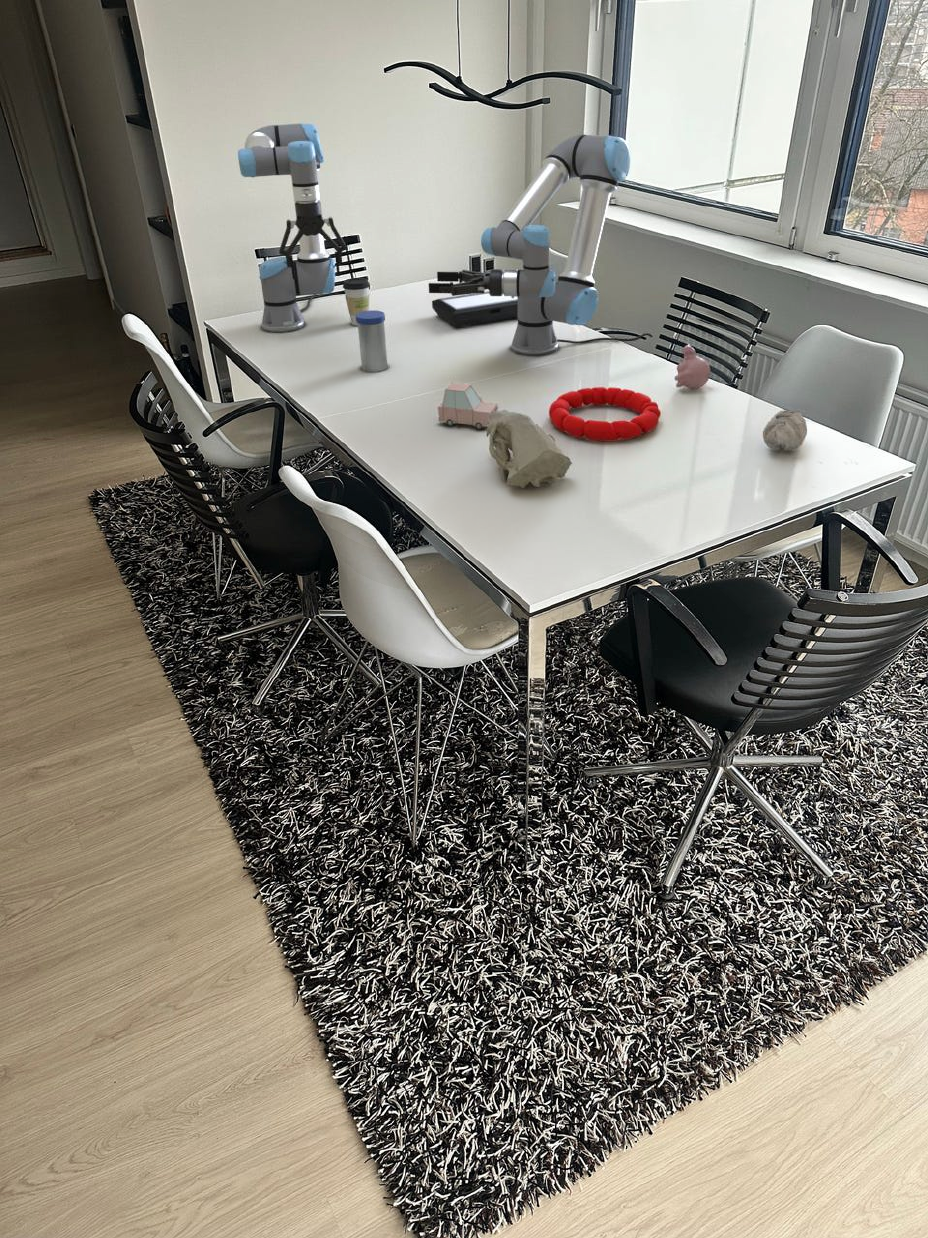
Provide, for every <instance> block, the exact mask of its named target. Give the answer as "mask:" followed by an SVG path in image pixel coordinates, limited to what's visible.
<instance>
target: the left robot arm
mask: <svg viewBox="0 0 928 1238" xmlns="http://www.w3.org/2000/svg"><path fill="white" fill-rule="evenodd" d="M237 158H238V159H237V160H238V165H239V172H240V176H242V177H243V178H257V177H273V176H290V177H291V186H292V193H293V194H292V195H293V202H294V209H295V218H296V219H295V220H291V219H286V228H285V231H284V234H283V237H282V241H281V244H280V247H279V250H278V253H279V255H280V256H277V257H273V258H270V259H267V260H264V261H263V262H261V263H260V265H259V266H258V270H259V280H260V285H261V286H260V287H261V292H262V299H263V313H262V319H261V326H262V330H264V331H265V332H271V333H286V332H293V331H296V330H297V331H298V330H300V329H302V328H304V326H305V318H304V317H303V314H302V313H303V312H304V311H306V310H308V308H309V307H310V305H311V301H312V300H313V299H314V298H315V297H317V295H321V296H322V295H327V294H332V293H333V292H334V290H335V286H336V285H335V284H336V276H337V277H341V271H340V265H342V264H343V256H342V255H343V254H342V253H343V252H344V251H347V249H348V247H347V244H346V242H345V241H344V239H343V238H342V236H341V234H340V232H339V231H338V229H337V228H336V226H335V223H334V219H333V217H332V216H328V217H327V218H323V213H322V203H321V201H320V199H321V195H320V194H321V193H320V185H319V179H318V178H319V177H318V173H319V172H320V170H321V164H323V163H324V162H325V159H324V155H323V150H322V145H321V141H320V137H319V133H318V129H317V127H316V125H315V124H313V123H290V124H288V123H287V124H275V125H274V124H271V125H266V126H263V127H260V128H258V129H256V130H253V131H252V132H251V133H250V134H248V136H247V137H246V139H245V142H244V148H239V149H238V150H237ZM325 224H326V225H327V227H330V229H331V231H332V233H333V234H334V236H335V238H336V240H337V242H338V244H339V245H340V246H339V245H338V244H337V242H335V240H333V238H331V237H330V235H329V234H328V233H327V232H326V231H325V230H324V229H323V227H324V225H325ZM295 226H296V228H297V233H296V235H295V236H294V238H293V239H292V240H291V243H290V244H289V246H288V247H287V249H286V246H287V243H288V241H289V238H290V235H291V230H293V229H294V227H295ZM325 241H326V242H327V243H328V244H329V245H330V246H331V247H332V248H333V249H334V250H335V251H334V258H332V257H331V253H330V252H329V251H328V250H327V249H326V247H325ZM298 243H299V250H300V251H298V253H297V254H296V260H294V258H293V254H292V252H294V250H295V248H296V246H297V245H298ZM285 249H286V250H285ZM300 296H301V297H302V296H303V297H304V296H311V297H310V298H309V299H308V301H307V305H305V307H303V308H301V309H300V307H299V306H298V305H299V304H298V303H297V297H300Z"/></svg>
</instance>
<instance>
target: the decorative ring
mask: <svg viewBox="0 0 928 1238" xmlns="http://www.w3.org/2000/svg"><path fill="white" fill-rule="evenodd" d="M583 405H584V406H586V407H587V406H591V405H593V406H604V405H608V406H614V407H619V408H624V409H628V410H632V411H635V412H636V413H638V414H639V415H637V416H635V417H632V418H631V419H630V420H625V419H624V420H623V419H622V420H614V421H611V422H609V421H607V420H606V421H605V420H593V419H587V420H586V421H585V419H584V418H582V417H579V416H577V415H573V414H571V413H570V410H571V409H579V408H581V407H582V406H583ZM548 416H549V419H550V422H551V423H552V425H553V426H554V427H555V428H556V429H558V430H559V431H561V432H563V433H567V434H568V435H569V436H573V437H576V438H580V439H582V438H583V437H585V438H586V439H587V440H591V441H601V442H602V441H603V442H608V441H609V442H610V441H611V442H612V441H615V442H616V441H618V440H630V439H634V438H638V437H641V436H642V434H647V433H650V432H651V431H653V430H654V429H655V428H656V427H657V426H658V424H659V422H660V421H659V420H660V417H661V410H660V408H659V405H658V403H657V402H656V401H652V399H651V397H649V396H648V395H646V394H644V393H642V392H635V391H634V390H632V389H628V388H624V389H622V388H620V387H613V386H612V387H611V386H610V387H608V388H606V387H604V386H594V387H585V388H584V387H583V388H580V389H578V390H571V391H568V392H565V393H563V394H561V395H560V396H558V397H557V398H556V400H554V401H552V403H551V404H550V407H549V409H548Z"/></svg>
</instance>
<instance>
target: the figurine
mask: <svg viewBox="0 0 928 1238" xmlns="http://www.w3.org/2000/svg"><path fill="white" fill-rule="evenodd" d="M682 354H683V358H684V359H683V361H682V362H679V363H678V364H677V365H676V372H677V375H675V376H674V381H675V382H676V381H677V382H676V384H675V386H676V388H681V387H686V388H688V389H693V390H694V389H695V390H696V389H700V388H703V387H704V386H705V385H706V384H707V383H708V382H709V379H710V377H711V367H710V364H709V362H708V361H706V359H704V358H702V357H700V356H697V353H696V350H695V349H694V347H692V345H690V344H686V345H685V346H684V347H683V348H682Z"/></svg>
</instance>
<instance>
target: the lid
mask: <svg viewBox="0 0 928 1238" xmlns="http://www.w3.org/2000/svg"><path fill="white" fill-rule="evenodd" d="M356 322H357V323H359V324H363V325H373V324H379V323H382V322H384V323H385V322H386V314H385V312H383V311H381V310H369V311H363V312H359V313H357V314H356Z"/></svg>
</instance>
